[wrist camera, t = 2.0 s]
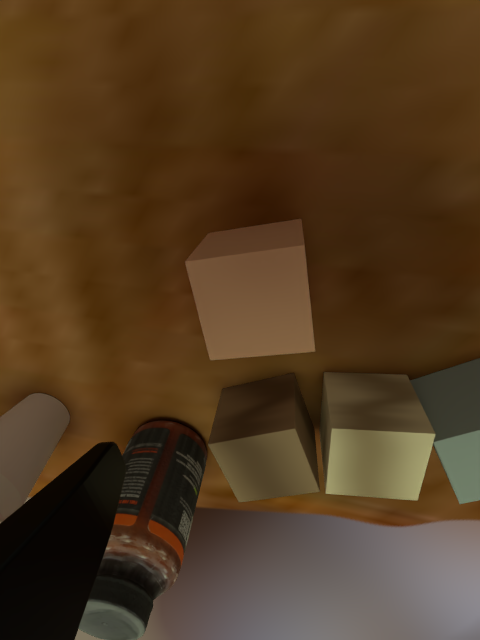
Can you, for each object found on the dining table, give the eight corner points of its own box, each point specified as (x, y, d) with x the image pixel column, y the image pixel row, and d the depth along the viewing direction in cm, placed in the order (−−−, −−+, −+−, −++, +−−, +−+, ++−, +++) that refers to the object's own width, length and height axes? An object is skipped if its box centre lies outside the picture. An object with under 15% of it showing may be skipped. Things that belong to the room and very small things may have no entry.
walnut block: (293, 371, 23) (295, 428, 19) (314, 428, 25) (319, 491, 21) (222, 387, 24) (207, 444, 20) (247, 440, 26) (239, 502, 22)
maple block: (406, 374, 22) (435, 433, 18) (394, 434, 24) (417, 500, 20) (323, 371, 23) (331, 428, 18) (319, 430, 25) (325, 493, 21)
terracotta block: (301, 218, 19) (304, 245, 14) (310, 305, 21) (315, 351, 16) (208, 232, 20) (184, 261, 15) (226, 314, 22) (209, 360, 17)
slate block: (492, 352, 21) (547, 412, 16) (511, 414, 22) (565, 482, 18) (405, 381, 22) (433, 442, 18) (429, 436, 24) (460, 504, 20)
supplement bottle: (118, 440, 28) (23, 611, 18) (165, 402, 25) (85, 576, 16) (176, 482, 29) (118, 662, 19) (225, 450, 27) (187, 636, 17)
